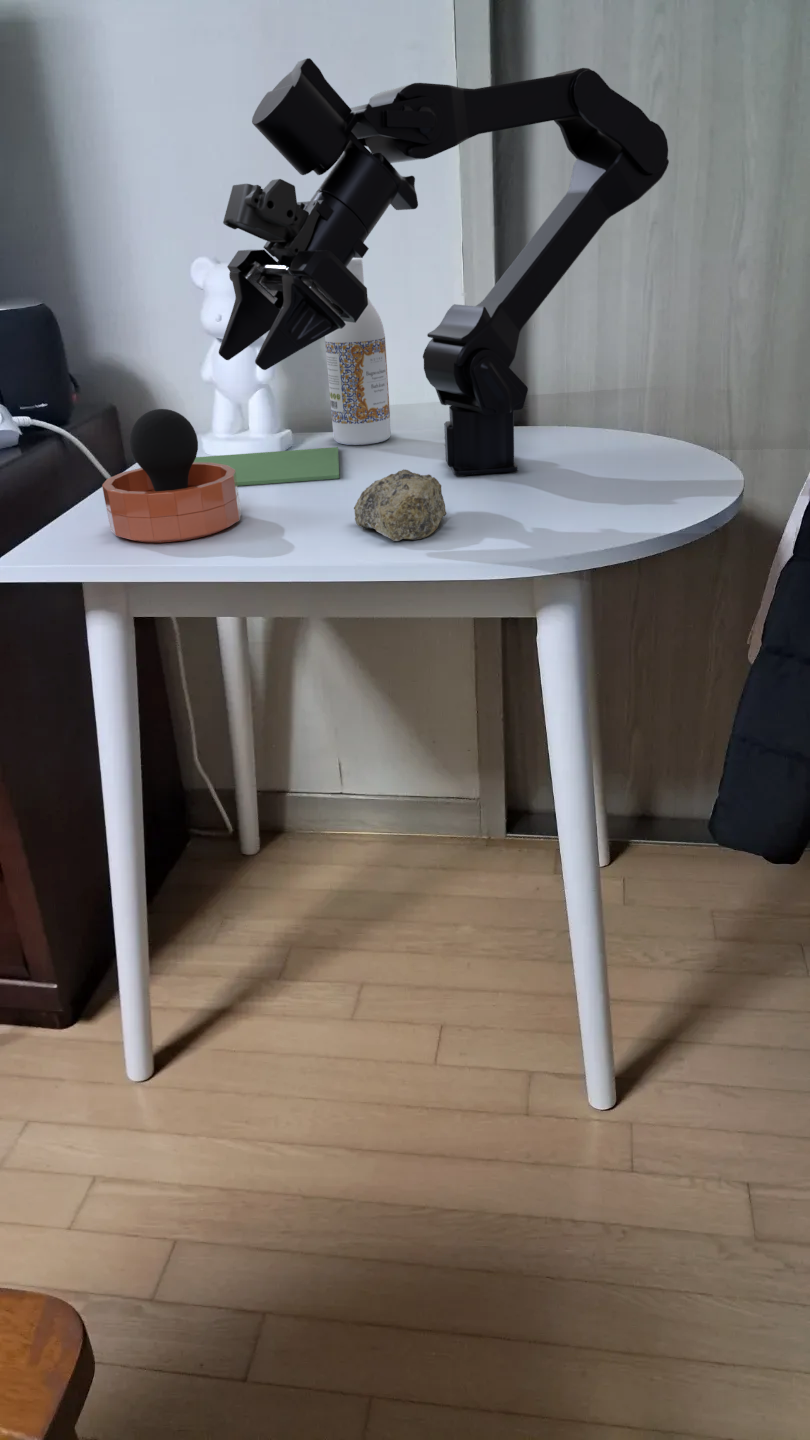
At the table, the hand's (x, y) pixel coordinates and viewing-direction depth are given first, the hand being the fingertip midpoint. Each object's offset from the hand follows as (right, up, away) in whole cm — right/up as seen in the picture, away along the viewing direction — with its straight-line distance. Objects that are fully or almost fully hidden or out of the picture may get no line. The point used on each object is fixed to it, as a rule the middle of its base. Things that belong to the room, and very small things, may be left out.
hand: (240, 361), depth 91 cm
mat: (-3, -4, +22) cm, 22 cm away
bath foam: (+10, +2, +33) cm, 34 cm away
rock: (+14, -15, -2) cm, 21 cm away
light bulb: (-6, -14, +3) cm, 15 cm away
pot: (-6, -14, +3) cm, 16 cm away
